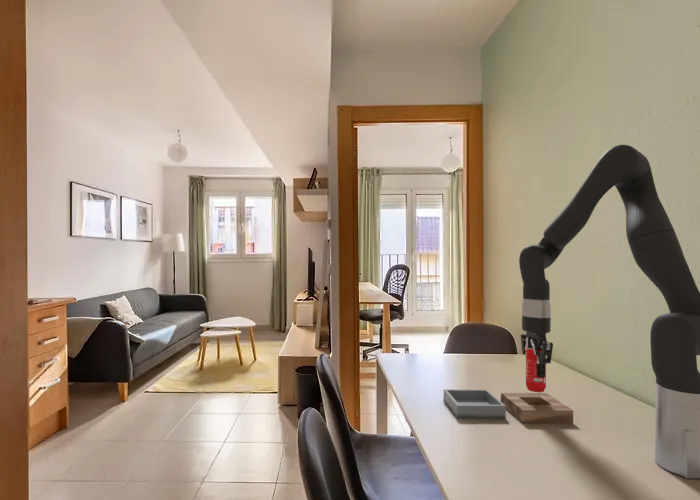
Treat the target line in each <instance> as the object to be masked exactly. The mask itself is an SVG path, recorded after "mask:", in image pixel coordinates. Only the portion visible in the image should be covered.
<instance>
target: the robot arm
mask: <svg viewBox="0 0 700 500" xmlns="http://www.w3.org/2000/svg"><path fill="white" fill-rule="evenodd" d="M614 186H615V188H616V190H617V192H618V193H619V196H620V198H621V201H622V203H623V205H624V210H625V231H626V237H627V243H628V246H629V249H630V251H631V253H632V257H633V259H634V262H635V264H636V265H637V267H638V268H639V269H640V270H641V271H642V273H643V274H644V275H645V276H646V277H647V278H648V280H650V281H651V282H652V283H653V284H654V285H655V287H656V289H658V290H659V291H660V293H661V294H662V296H663V298H664V301H665V302H666V305H667V308H668V311H669V312H666V313H662V314H659V315H658V316H657V317H656V318H655V319H654V320H653V321H652V324H651V328H650V359H651V367H652V370H653V373H654V375H655V413H654V414H655V416H654V417H655V419H654V420H655V423H654V425H655V427H654V428H655V429H654V430H655V431H654V432H655V433H654V462H655V463H656V464H657V465H658V466H659V467H661V468H662V469H664V470H667V471H669V472H670V473H673V474H676V475H679V476H681V477H683V478H685V479H700V371H699V369H698V361H697V360H698V359H697V356H700V290H699V288H698V286H697V283H696V282H695V281H696V280H695V279H694V276H693V274H692V272H691V271H692V270H691V269H690V267H689V264H688V262H687V260H686V257H685V255H684V252H683V249H682V246H681V243H680V241H679V238H678V236H677V234H676V231H675V228H674V227H673V225H672V222H671V220H670V218H669V215H668V213H667V211H666V210H665V207H664V205H663V204H662V202H661V199H660V198H659V195H658V192H657V188H656V184H655V180H654V177H653V172H652V167H651V164H650V162H649V160H648V158H647V157H646V156H645V155H644V154H643V153H642V152H640V151H639V150H638V149H637V148H635V147H633V146H631V145H628V144H618V145H615V146H612V147H610V148H609V149H608V150H606V151H605V152H604V153H603V154H602V155H601V157H600V158H599V160H598V161H597V162H596V164H595V165H594V167H593V168H592V169H591V171H590V172H589V174H588V176H587V177H586V178H585V179H584V181H583V183H582V184H581V186H580V187H579V188H578V190H577V191H576V193H575V194H574V195H573V197H572V198H571V199H570V201H569V202H568V203H567V204H566V206H565V207H564V208H563V209H562V210H561V211H560V213H559V214H558V215H557V216H556V217H555V218H554V219H553V220H552V221H551V222H550V224H548V226H547V227H546V228H545V229H544V231H543V237H542V238H541V240H540V241H539V242H538V243H537V244H530V245H527V246H525V247H524V248H523V249H522V250H521V251H520V254H519V259H518V264H519V265H518V266H519V270H520V275H521V280H522V284H523V285H522V303H521V304H522V305H521V330H522V331H523V332H525V333H524V334H522V333H521V334H520V343H521V353H522V356H524V357H525V359H526V349H527V347H532V349H533V352H534V355H535V356H536V361H537V377H539V378H544V377H545V376H546V377H547V365H548V364H551V362H552V356H553V349H554V343H553V342H550V341H549V342H548V341H547V335H546V334H549V333H550V332H551V323H552V322H551V321H552V318H551V316H552V315H551V313H552V311H551V309H552V308H551V300H550V298H551V297H550V295H551V288H550V282H549V280H548V279H546V273H545V270H546V269H548V268H550V266H552V265H553V264H554V263H555V261H557V259H558V257H559V256H560V255H561V254H562V253H563V251H564V249H565V247H567V245H568V244H569V243H570V242H571V241H572V240H573V239H574V238H576V236H578V234H579V233H580V232H581V231H582V229H584V227H585V226H586V224H587V223H588V221H589V220H590V218H591V216H592V214H593V212H594V210H595V208H596V207H597V205H598V204H599V203H600V200H601V199H602V198H603V197H604V195H605V194H607V192H608V191H610V190H611V189H612V188H613V187H614ZM537 350H541V352H537ZM539 355H541V356H540V357H539Z"/></svg>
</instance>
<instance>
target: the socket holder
mask: <svg viewBox="0 0 700 500" xmlns="http://www.w3.org/2000/svg"><path fill="white" fill-rule="evenodd" d="M500 401H501V402H502V403H503V404H504V405H506V411H507V412H509V413H510V414H511V415H512V416H513V417H514V418H516V420H518V421H519V422H520V423H521V424H574V410H573V409H572V408H570V407H569V406H568V405H565V404H564V403H563V402H561V401H560V400H558V399H556V398H555V397H553V396H552V395H550V394H548V393H547V392H500Z"/></svg>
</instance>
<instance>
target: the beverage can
mask: <svg viewBox="0 0 700 500" xmlns="http://www.w3.org/2000/svg"><path fill="white" fill-rule="evenodd" d="M525 351H526V358H525V387H526V389H527V390H528V391H530V392H531V393H545V391H546V390H545V389H546V388H547V375H546V376H545V377H544V378H539V377H537V361H536V356H535V355H534V352H533V349H532V347H527V349H526V350H525ZM537 352H541V350H537ZM540 356H541V355H539V357H540Z"/></svg>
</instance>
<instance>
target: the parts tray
mask: <svg viewBox="0 0 700 500" xmlns="http://www.w3.org/2000/svg"><path fill="white" fill-rule="evenodd" d="M442 399H443V402H444V403H445V405H446V406H447V407H448V408H449V410H450V411H451V412H452V414H453V415H454V416H455V418H456V419H497V420H498V419H500V420H501V419H504V420H505V419H507V417H506V416H507V415H506V414H507V412H506V411H507V409H506V405H504V404H503V403H502V402H501V399H499V398H498V397H496V395H494V394H493V393H492V392H491V391H490V390H488V389H463V388H462V389H458V388H457V389H455V388H454V389H453V388H452V389H451V388H450V389H448V388H447V389H446V388H445V389H443V398H442Z"/></svg>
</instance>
